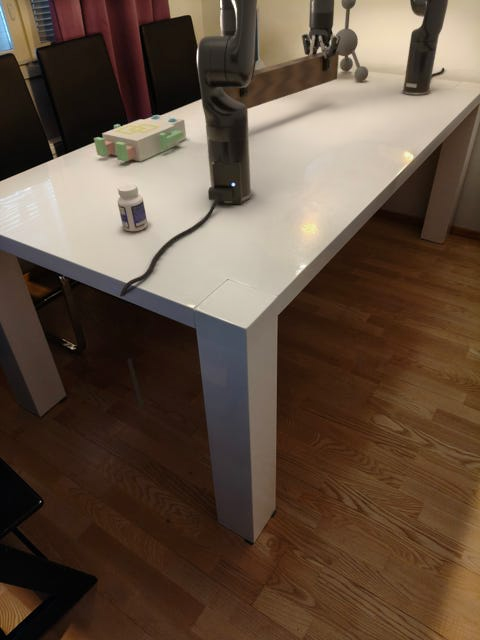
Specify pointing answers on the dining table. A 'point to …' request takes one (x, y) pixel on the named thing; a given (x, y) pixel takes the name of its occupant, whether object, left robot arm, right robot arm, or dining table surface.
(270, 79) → the beam
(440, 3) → the right robot arm
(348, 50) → the molecular model
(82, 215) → the dining table surface
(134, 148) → the decorative block
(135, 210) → the pill bottle
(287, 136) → the dining table surface
